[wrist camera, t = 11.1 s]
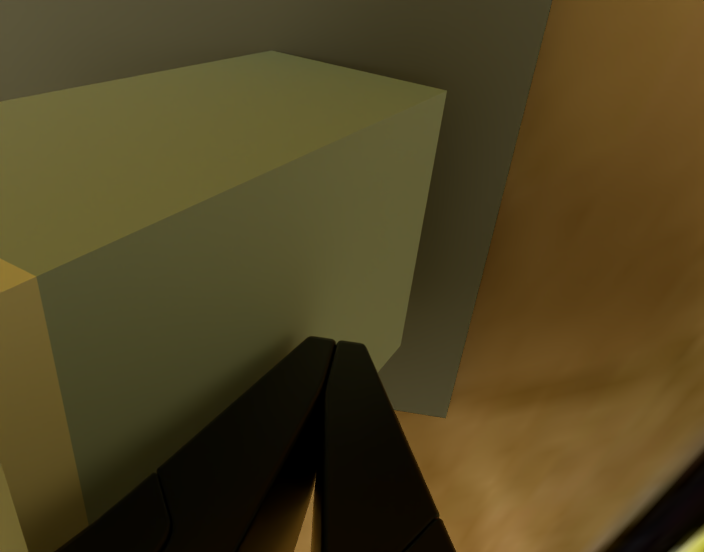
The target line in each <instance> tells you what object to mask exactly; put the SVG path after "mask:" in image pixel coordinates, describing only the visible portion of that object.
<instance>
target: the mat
mask: <svg viewBox="0 0 704 552" xmlns="http://www.w3.org/2000/svg"><path fill="white" fill-rule="evenodd" d="M551 4H552V0H0V102H1V101H6V100H12V99H17V98H22V97H27V96H33V95H38V94H43V93H49V92H54V91H59V90H65V89H70V88H75V87H81V86H86V85H91V84H96V83H102V82H107V81H112V80H118V79H123V78H128V77H134V76H139V75H144V74H149V73H155V72H160V71H165V70H171V69H176V68H181V67H187V66H192V65H197V64H203V63H208V62H213V61H218V60H224V59H229V58H234V57H240V56H245V55H250V54H256V53H261V52H266V51H271V50H272V51H276V52H280V53H285V54H289V55H293V56H298V57H302V58H307V59H311V60H315V61H320V62H324V63H328V64H333V65H337V66H342V67H346V68H350V69H355V70H359V71H363V72H368V73H372V74H377V75H381V76H385V77H390V78H394V79H398V80H403V81H407V82H412V83H416V84H420V85H425V86H429V87H433V88H438V89H442V90H447V94H446V99H445V105H444V110H443V116H442V121H441V126H440V132H439V137H438V143H437V148H436V154H435V159H434V165H433V170H432V176H431V181H430V187H429V192H428V198H427V203H426V209H425V214H424V220H423V225H422V231H421V236H420V242H419V247H418V253H417V258H416V264H415V269H414V274H413V280H412V285H411V291H410V296H409V302H408V307H407V313H406V318H405V324H404V329H403V335H402V340H401V346H400V347H399V348H398V349H397V350H396V352H395V353H394V354H393V355H392V356H391V357H390V359H389V360H388V361H387V362H386V363H385V364H384V366H383V367H382V368H381V369H380V370H379V371H378V375H379V377H380V379H381V382H382V384H383V386H384V389H385V391H386V393H387V396H388V398H389V400H390V402H391V405H392V407H393V409H394V410H398V411H404V412H410V413H417V414H423V415H429V416H436V417H442V418H446V415H447V411H448V408H449V404H450V400H451V396H452V392H453V388H454V384H455V380H456V376H457V372H458V368H459V364H460V360H461V357H462V353H463V349H464V345H465V341H466V337H467V333H468V329H469V325H470V321H471V317H472V313H473V309H474V306H475V302H476V298H477V294H478V290H479V286H480V282H481V278H482V274H483V270H484V266H485V262H486V259H487V255H488V251H489V247H490V243H491V239H492V235H493V231H494V227H495V223H496V219H497V215H498V211H499V208H500V204H501V200H502V196H503V192H504V188H505V184H506V180H507V176H508V172H509V168H510V164H511V161H512V157H513V153H514V149H515V145H516V141H517V137H518V133H519V129H520V125H521V121H522V117H523V113H524V110H525V106H526V102H527V98H528V94H529V90H530V86H531V82H532V78H533V74H534V70H535V66H536V63H537V59H538V55H539V51H540V47H541V43H542V39H543V35H544V31H545V27H546V23H547V19H548V15H549V12H550V8H551Z"/></svg>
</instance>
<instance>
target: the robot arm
mask: <svg viewBox="0 0 704 552" xmlns="http://www.w3.org/2000/svg"><path fill="white" fill-rule="evenodd" d="M315 478H316V480H315ZM314 483H315V491H314V503H313V522H312V541H311V552H456V550H455V548H454V546H453V544H452V541H451V539H450V537H449V535H448V532H447V530H446V528H445V525H444V523H443V521H442V520H441V519H439V512H438V510H437V508H436V505H435V503H434V501H433V499H432V496H431V494H430V492H429V489H428V487H427V485H426V483H425V480H424V478H423V476H422V473H421V471H420V469H419V467H418V464H417V462H416V460H415V457H414V455H413V453H412V450H411V448H410V446H409V444H408V441H407V439H406V437H405V434H404V432H403V430H402V428H401V425H400V423H399V421H398V418H397V416H396V414H395V412H394V409H393V407H392V405H391V402H390V400H389V398H388V396H387V393H386V391H385V389H384V386H383V384H382V382H381V379H380V377H379V375H378V373H377V370H376V368H375V366H374V363H373V361H372V359H371V357H370V354H369V352H368V350H367V348H366V346H365V345H364V344H363V343H358V342H351V341H344V340H340V341H338V342H337V344H336V341H335V340H334V339H331V338H324V337H317V336H309V337H307V338H306V339H305V340H304V341H302V342H301V343H300V344H299V345H298V346H297V347H296V348H294V349H293V350H292V351H291V352H290V353H289V354H288V355H286V356H285V357H284V358H283V359H282V360H281V361H280V362H278V363H277V364H276V365H275V366H274V367H273V368H272V369H270V370H269V371H268V372H267V373H266V374H265V375H264V376H262V377H261V378H260V379H259V380H258V381H257V382H256V383H254V384H253V385H252V386H251V387H250V388H249V389H248V390H246V391H245V392H244V393H243V394H242V395H241V396H240V397H238V398H237V399H236V400H235V401H234V402H233V403H231V404H230V405H229V406H228V407H227V408H226V409H225V410H223V411H222V412H221V413H220V414H219V415H218V416H217V417H215V418H214V419H213V420H212V421H211V422H210V423H209V424H207V425H206V426H205V427H204V428H203V429H202V430H201V431H199V432H198V433H197V434H196V435H195V436H194V437H193V438H191V439H190V440H189V441H188V442H187V443H186V444H185V445H183V446H182V447H181V448H180V449H179V450H178V451H177V452H175V453H174V454H173V455H172V456H171V457H170V458H169V459H167V460H166V461H165V462H164V463H163V464H162V465H161V466H159V467H158V468H157V470H156V473H154V472H153V473H151V474H150V475H149V476H148V477H146V478H145V479H144V480H143V481H142V482H141V483H140V484H138V485H137V486H136V487H135V488H134V489H133V490H132V491H130V492H129V493H128V494H127V495H126V496H124V497H123V498H122V499H121V500H120V501H118V502H117V503H116V504H115V505H113V506H112V507H111V508H110V509H109V510H107V511H106V512H105V513H104V514H103V515H101V516H100V517H99V518H98V519H97V520H95V521H94V522H93V523H91V524H90V525H89V526H87V527H86V528H85V529H83V530H82V531H81V532H79V533H78V534H77V535H75V536H74V537H73V538H71V539H70V540H69V541H67V542H66V543H65V544H63V545H62V546H61V547H59V548H58V549H57V550H55V551H54V552H294V549H295V546H296V543H297V540H298V537H299V534H300V530H301V527H302V524H303V521H304V518H305V515H306V511H307V508H308V505H309V502H310V498H311V495H312V491H313V488H314Z"/></svg>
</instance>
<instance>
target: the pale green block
mask: <svg viewBox="0 0 704 552" xmlns="http://www.w3.org/2000/svg"><path fill="white" fill-rule="evenodd" d="M446 94H447V90H442V89H438V88H433V87H429V86H425V85H420V84H416V83H412V82H407V81H403V80H398V79H394V78H390V77H385V76H381V75H377V74H372V73H368V72H363V71H359V70H355V69H350V68H346V67H342V66H337V65H333V64H328V63H324V62H320V61H315V60H311V59H307V58H302V57H298V56H293V55H289V54H285V53H280V52H276V51H272V50H271V51H266V52H261V53H256V54H250V55H245V56H240V57H234V58H229V59H224V60H218V61H213V62H208V63H203V64H197V65H192V66H187V67H181V68H176V69H171V70H165V71H160V72H155V73H149V74H144V75H139V76H134V77H128V78H123V79H118V80H112V81H107V82H102V83H96V84H91V85H86V86H81V87H75V88H70V89H65V90H59V91H54V92H49V93H43V94H38V95H33V96H27V97H22V98H17V99H12V100H6V101H1V102H0V552H54V551H55V550H57V549H58V548H59V547H61V546H62V545H63V544H65V543H66V542H67V541H69V540H70V539H71V538H73V537H74V536H75V535H77V534H78V533H79V532H81V531H82V530H83V529H85V528H86V527H87V526H89V525H90V524H91V523H93V522H94V521H95V520H97V519H98V518H99V517H100V516H101V515H103V514H104V513H105V512H106V511H107V510H109V509H110V508H111V507H112V506H113V505H115V504H116V503H117V502H118V501H120V500H121V499H122V498H123V497H124V496H126V495H127V494H128V493H129V492H130V491H132V490H133V489H134V488H135V487H136V486H137V485H138V484H140V483H141V482H142V481H143V480H144V479H145V478H146V477H148V476H149V475H150V474H151V473H153V472H154V473H156V470H157V468H158V467H159V466H161V465H162V464H163V463H164V462H165V461H166V460H167V459H169V458H170V457H171V456H172V455H173V454H174V453H175V452H177V451H178V450H179V449H180V448H181V447H182V446H183V445H185V444H186V443H187V442H188V441H189V440H190V439H191V438H193V437H194V436H195V435H196V434H197V433H198V432H199V431H201V430H202V429H203V428H204V427H205V426H206V425H207V424H209V423H210V422H211V421H212V420H213V419H214V418H215V417H217V416H218V415H219V414H220V413H221V412H222V411H223V410H225V409H226V408H227V407H228V406H229V405H230V404H231V403H233V402H234V401H235V400H236V399H237V398H238V397H240V396H241V395H242V394H243V393H244V392H245V391H246V390H248V389H249V388H250V387H251V386H252V385H253V384H254V383H256V382H257V381H258V380H259V379H260V378H261V377H262V376H264V375H265V374H266V373H267V372H268V371H269V370H270V369H272V368H273V367H274V366H275V365H276V364H277V363H278V362H280V361H281V360H282V359H283V358H284V357H285V356H286V355H288V354H289V353H290V352H291V351H292V350H293V349H294V348H296V347H297V346H298V345H299V344H300V343H301V342H302V341H304V340H305V339H306V338H307V337H309V336H317V337H324V338H331V339H334V340H335V341H336V344H337V342H338V341H340V340H344V341H351V342H358V343H363V344H364V345H365V346H366V348H367V350H368V352H369V354H370V357H371V359H372V361H373V363H374V366H375V368H376V370H377V373H378V371H379V370H380V369H381V368H382V367H383V366H384V364H385V363H386V362H387V361H388V360H389V359H390V357H391V356H392V355H393V354H394V353H395V352H396V350H397V349H398V348H399V347H400V346H401V340H402V335H403V329H404V324H405V318H406V313H407V307H408V302H409V296H410V291H411V285H412V280H413V274H414V269H415V264H416V258H417V253H418V247H419V242H420V236H421V231H422V225H423V220H424V214H425V209H426V203H427V198H428V192H429V187H430V181H431V176H432V170H433V165H434V159H435V154H436V148H437V143H438V137H439V132H440V126H441V121H442V116H443V110H444V105H445V99H446Z"/></svg>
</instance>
